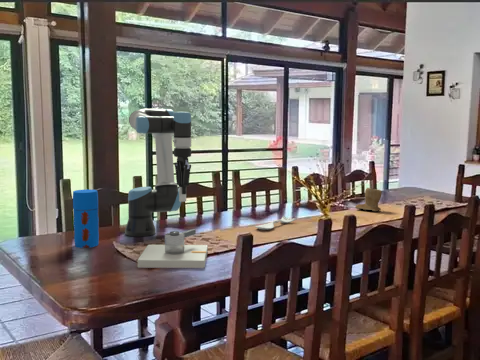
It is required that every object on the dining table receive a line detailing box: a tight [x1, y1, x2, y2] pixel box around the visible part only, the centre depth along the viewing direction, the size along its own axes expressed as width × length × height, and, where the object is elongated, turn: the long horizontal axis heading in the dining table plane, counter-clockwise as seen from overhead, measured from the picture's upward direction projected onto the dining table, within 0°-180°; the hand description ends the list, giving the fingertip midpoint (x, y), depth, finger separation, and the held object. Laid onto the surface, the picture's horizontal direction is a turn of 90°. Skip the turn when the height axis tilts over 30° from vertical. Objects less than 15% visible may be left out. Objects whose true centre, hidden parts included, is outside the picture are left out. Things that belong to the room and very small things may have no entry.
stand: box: [137, 244, 209, 269], centre depth 204 cm, size 26×24×3 cm
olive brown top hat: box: [354, 187, 383, 212], centre depth 320 cm, size 15×12×15 cm
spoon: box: [255, 215, 297, 231], centre depth 270 cm, size 9×32×4 cm, turn 143°
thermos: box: [72, 189, 100, 249], centre depth 224 cm, size 11×11×25 cm
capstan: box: [164, 228, 196, 254], centre depth 207 cm, size 18×8×8 cm, turn 151°
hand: (182, 201), depth 216 cm, fingers closed
